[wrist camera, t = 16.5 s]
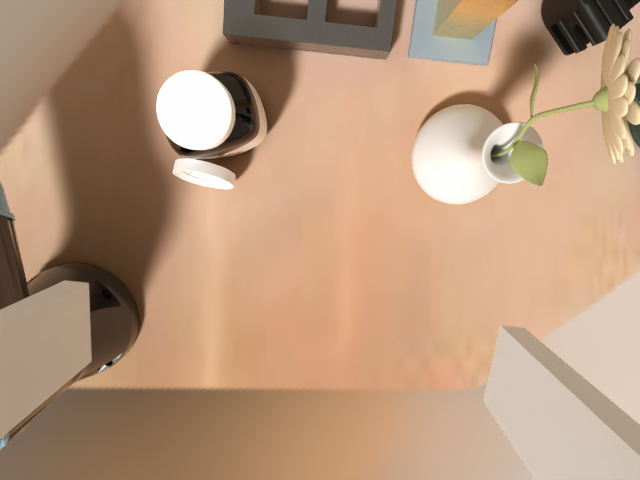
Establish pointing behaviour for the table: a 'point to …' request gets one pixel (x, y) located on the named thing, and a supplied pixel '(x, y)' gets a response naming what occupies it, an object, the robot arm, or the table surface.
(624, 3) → the end cap
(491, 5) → the brass peg
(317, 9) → the steel socket block
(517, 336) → the robot arm
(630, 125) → the coffee jar
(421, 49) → the slate pad
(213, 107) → the spread jar
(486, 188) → the flower in vase
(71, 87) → the table surface
